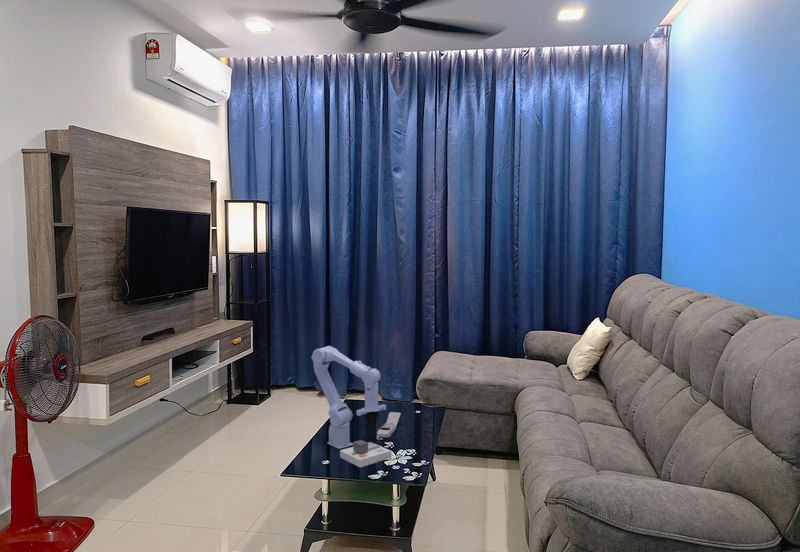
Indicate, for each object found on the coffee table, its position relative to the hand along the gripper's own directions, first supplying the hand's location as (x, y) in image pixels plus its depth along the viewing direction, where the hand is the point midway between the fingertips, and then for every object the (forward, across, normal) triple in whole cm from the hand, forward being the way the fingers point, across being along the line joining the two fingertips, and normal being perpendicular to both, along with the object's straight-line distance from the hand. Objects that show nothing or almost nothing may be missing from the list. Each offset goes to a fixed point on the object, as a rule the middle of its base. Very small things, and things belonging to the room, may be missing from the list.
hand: (371, 429), depth 248 cm
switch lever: (+6, -9, -5) cm, 12 cm away
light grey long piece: (+10, +22, +15) cm, 28 cm away
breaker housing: (+9, -7, -5) cm, 13 cm away
